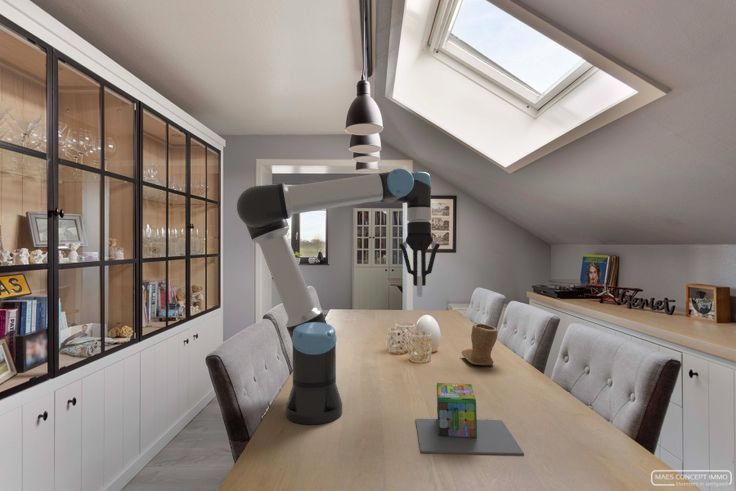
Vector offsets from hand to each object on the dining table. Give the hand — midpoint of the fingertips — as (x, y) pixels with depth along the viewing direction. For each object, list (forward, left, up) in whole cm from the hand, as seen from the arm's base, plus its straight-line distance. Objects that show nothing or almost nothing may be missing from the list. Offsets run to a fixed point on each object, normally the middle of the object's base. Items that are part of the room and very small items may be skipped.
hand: (419, 296), depth 129 cm
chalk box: (+7, -22, -24) cm, 34 cm away
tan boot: (+26, +32, -30) cm, 51 cm away
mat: (+8, -32, -29) cm, 44 cm away
